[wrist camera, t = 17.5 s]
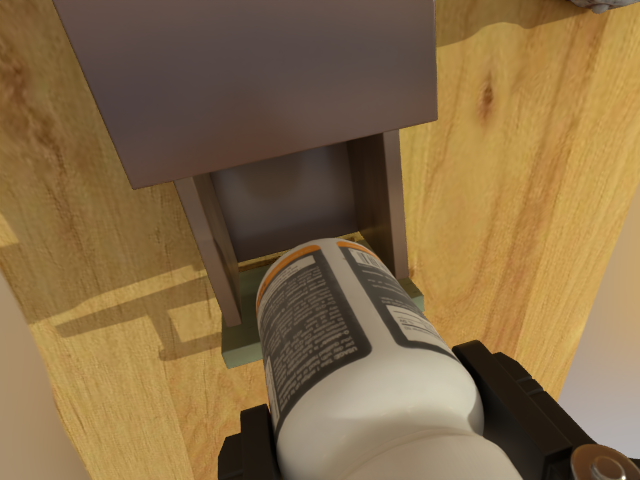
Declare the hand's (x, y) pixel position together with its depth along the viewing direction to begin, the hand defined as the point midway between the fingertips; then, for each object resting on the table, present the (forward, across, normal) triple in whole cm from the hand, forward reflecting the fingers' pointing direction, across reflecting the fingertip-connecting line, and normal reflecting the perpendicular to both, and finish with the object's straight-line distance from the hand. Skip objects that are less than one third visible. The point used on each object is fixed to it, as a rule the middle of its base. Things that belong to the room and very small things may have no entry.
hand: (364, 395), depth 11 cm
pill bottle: (+6, 0, 0) cm, 6 cm away
